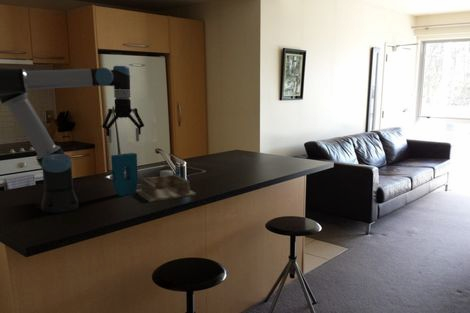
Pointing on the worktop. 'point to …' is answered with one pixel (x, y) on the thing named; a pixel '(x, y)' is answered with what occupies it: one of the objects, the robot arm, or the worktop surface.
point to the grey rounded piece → (166, 172)
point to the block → (118, 165)
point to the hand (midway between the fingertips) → (124, 142)
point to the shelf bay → (164, 188)
